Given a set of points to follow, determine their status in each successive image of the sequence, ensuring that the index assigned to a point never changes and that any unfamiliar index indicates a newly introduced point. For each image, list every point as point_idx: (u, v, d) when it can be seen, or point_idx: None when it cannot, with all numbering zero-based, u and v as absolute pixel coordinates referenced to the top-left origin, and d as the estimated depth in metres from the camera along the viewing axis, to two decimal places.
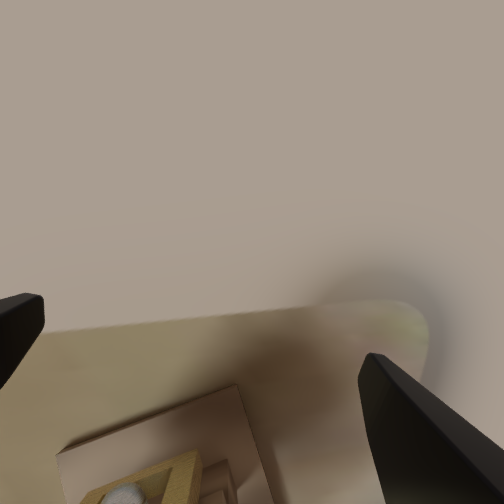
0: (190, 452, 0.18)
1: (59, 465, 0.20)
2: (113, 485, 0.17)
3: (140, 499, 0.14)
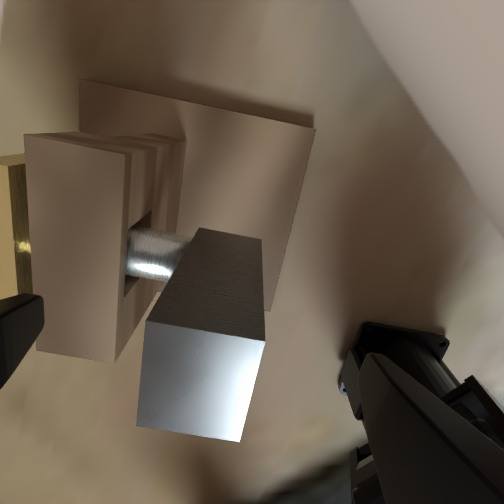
0: None
1: None
2: None
3: None
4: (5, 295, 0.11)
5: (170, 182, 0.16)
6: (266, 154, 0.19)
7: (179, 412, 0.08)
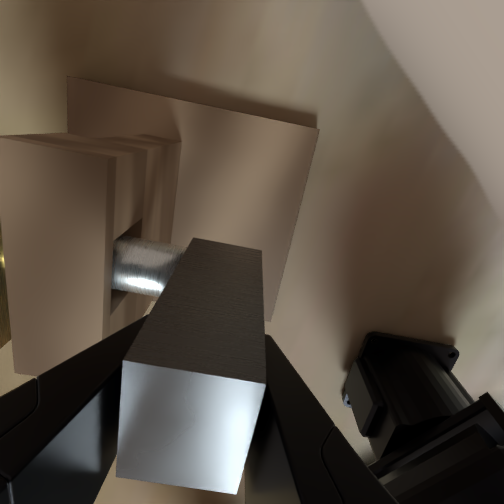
0: None
1: None
2: None
3: None
4: None
5: (163, 186, 0.15)
6: (266, 156, 0.17)
7: (166, 462, 0.06)
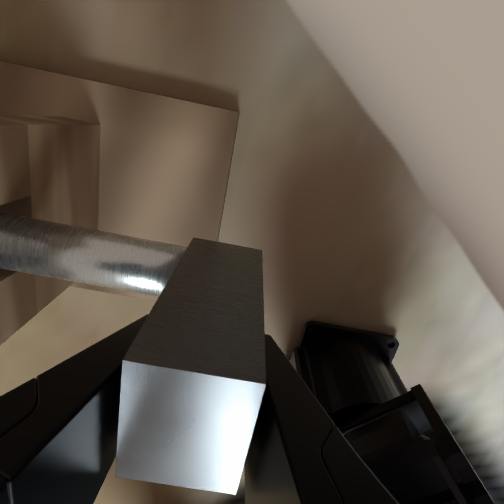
0: None
1: None
2: None
3: None
4: None
5: (70, 168, 0.15)
6: (187, 139, 0.17)
7: (165, 462, 0.06)
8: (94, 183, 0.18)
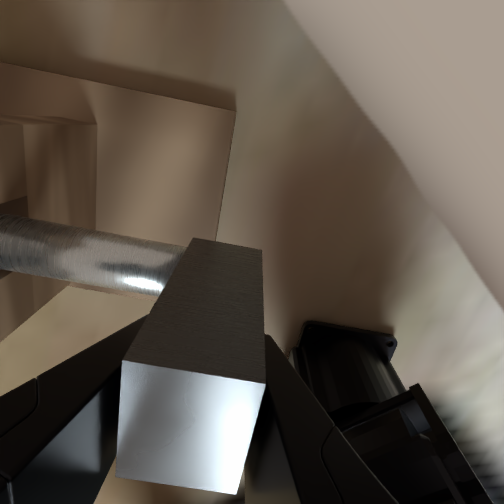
0: None
1: None
2: None
3: None
4: None
5: (67, 168, 0.15)
6: (184, 139, 0.17)
7: (165, 462, 0.06)
8: (91, 183, 0.18)
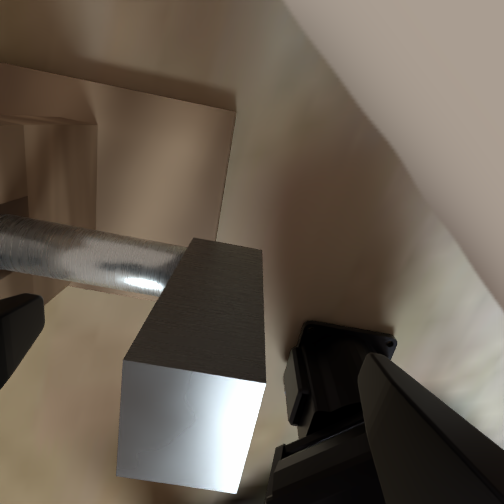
0: None
1: None
2: None
3: None
4: None
5: (67, 168, 0.15)
6: (184, 139, 0.17)
7: (166, 461, 0.06)
8: (92, 183, 0.18)
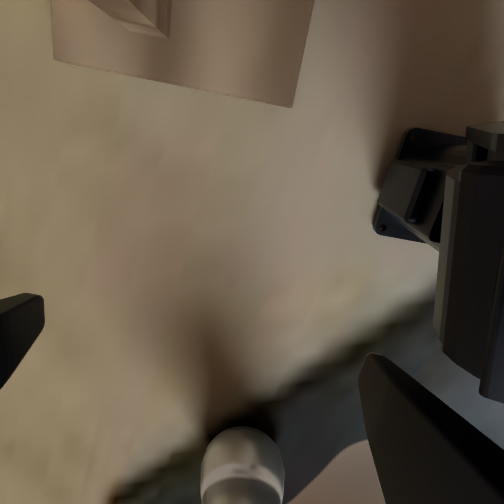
0: None
1: (67, 62, 0.17)
2: None
3: None
4: None
5: None
6: None
7: None
8: None
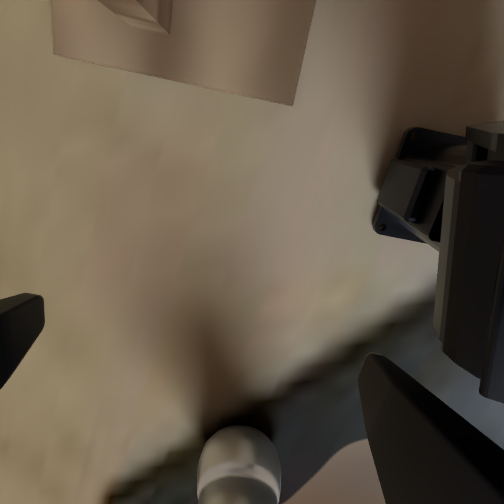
0: None
1: (67, 56, 0.17)
2: None
3: None
4: None
5: None
6: None
7: None
8: None
